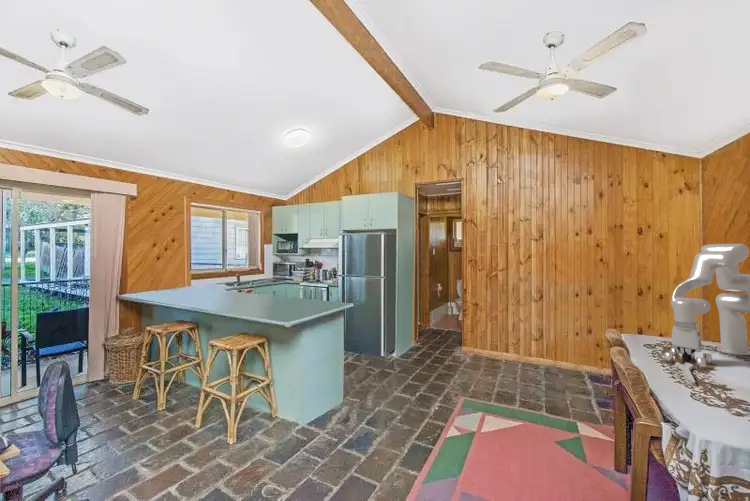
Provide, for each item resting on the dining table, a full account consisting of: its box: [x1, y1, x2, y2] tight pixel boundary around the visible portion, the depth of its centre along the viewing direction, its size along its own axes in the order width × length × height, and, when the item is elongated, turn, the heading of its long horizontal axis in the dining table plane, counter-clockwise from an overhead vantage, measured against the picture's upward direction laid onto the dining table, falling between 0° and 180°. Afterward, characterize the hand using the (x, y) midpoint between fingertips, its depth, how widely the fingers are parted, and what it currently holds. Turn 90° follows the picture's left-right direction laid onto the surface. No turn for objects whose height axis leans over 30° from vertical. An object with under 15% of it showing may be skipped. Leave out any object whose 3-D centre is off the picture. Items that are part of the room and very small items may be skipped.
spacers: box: [664, 346, 713, 371], centre depth 157 cm, size 13×15×5 cm
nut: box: [673, 355, 684, 363], centre depth 160 cm, size 4×5×2 cm
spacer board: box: [658, 358, 719, 373], centre depth 157 cm, size 16×18×1 cm
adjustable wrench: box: [674, 362, 696, 386], centre depth 145 cm, size 25×6×2 cm, turn 137°
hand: (687, 361), depth 157 cm, fingers closed
